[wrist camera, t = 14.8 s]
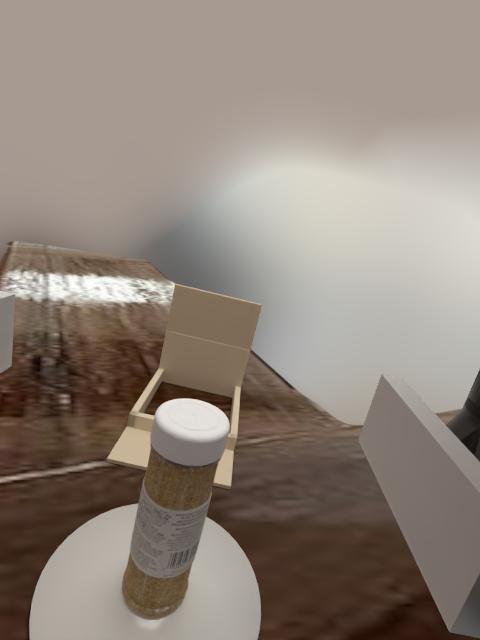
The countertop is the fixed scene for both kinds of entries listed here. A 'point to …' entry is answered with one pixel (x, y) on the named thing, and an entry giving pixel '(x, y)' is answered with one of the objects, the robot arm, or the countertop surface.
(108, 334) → the countertop surface
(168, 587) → the spice jar
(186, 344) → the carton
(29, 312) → the countertop surface
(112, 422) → the countertop surface
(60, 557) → the stone mat
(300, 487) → the countertop surface
